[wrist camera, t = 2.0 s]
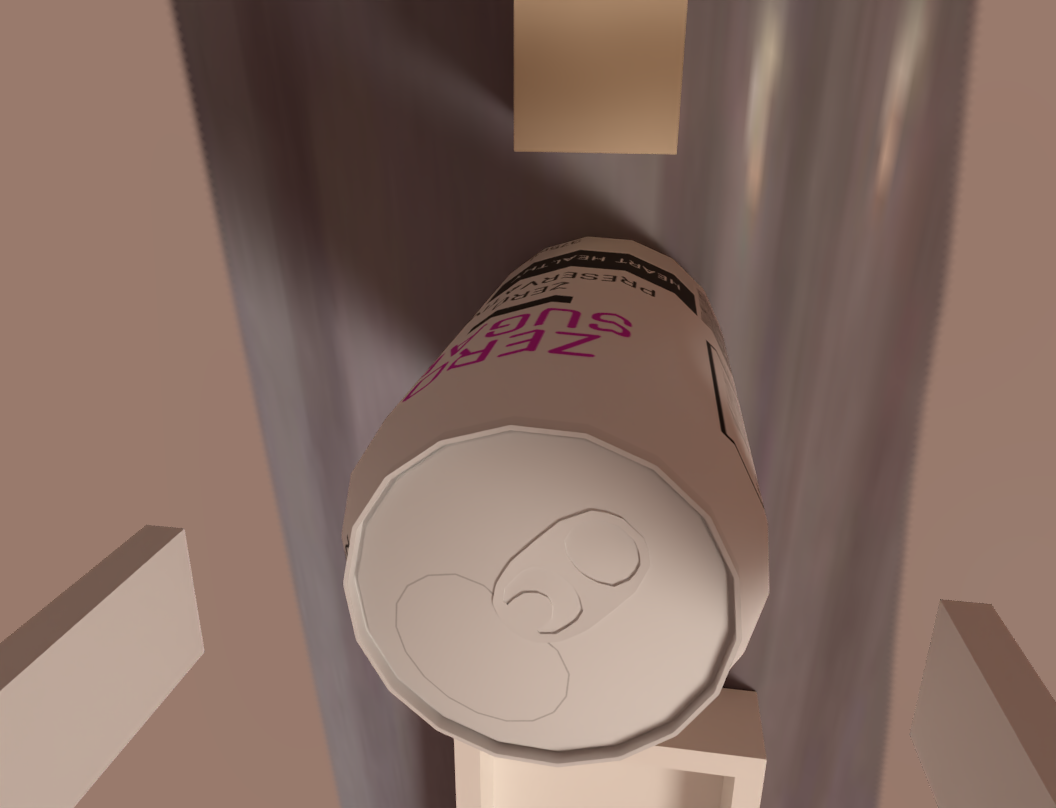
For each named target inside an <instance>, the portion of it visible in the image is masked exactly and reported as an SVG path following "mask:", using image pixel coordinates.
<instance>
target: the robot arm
mask: <svg viewBox="0 0 1056 808" xmlns="http://www.w3.org/2000/svg"><path fill="white" fill-rule="evenodd" d="M203 653H204V646H203V640H202V634H201V627H200V621H199V615H198V609H197V603H196V597H195V590H194V584H193V578H192V573H191V566H190V560H189V554H188V548H187V542H186V535H185V529H183V528H173V527H162V526H151V525H146V526H144V527H143V528H142V529H141V530H140V531H138V532H137V533H136V534H135V535H133V536H132V537H131V538H130V539H129V540H127V541H126V542H125V543H123V544H122V545H121V546H120V547H119V548H117V549H116V550H115V551H114V552H112V553H111V554H110V555H109V556H108V557H106V558H105V559H104V560H102V561H101V562H100V563H99V564H98V565H96V566H95V567H94V568H93V569H91V570H90V571H89V572H88V573H86V574H85V575H84V576H83V577H81V578H80V579H79V580H78V581H77V582H75V583H74V584H73V585H72V586H70V587H69V588H68V589H67V590H65V591H64V592H63V593H62V594H60V595H59V596H58V597H57V598H56V599H54V600H53V601H52V602H51V603H50V604H48V605H47V606H46V607H44V608H43V609H42V610H41V611H40V612H38V613H37V614H36V615H35V616H33V617H32V618H31V619H30V620H28V621H27V622H26V623H25V624H23V625H22V626H21V627H20V628H19V629H17V630H16V631H15V632H14V633H12V634H11V635H10V636H9V637H7V638H6V639H5V640H4V641H2V642H1V643H0V808H74V807H75V805H76V804H77V803H78V802H79V801H80V799H81V798H82V797H83V796H84V795H85V793H86V792H87V791H88V790H89V789H90V788H91V786H92V785H93V784H94V783H95V781H96V780H97V779H98V778H99V777H100V776H101V774H102V773H103V772H104V771H105V770H106V769H107V767H108V766H109V765H110V764H111V762H112V761H113V760H114V759H115V758H116V756H117V755H118V754H119V753H120V752H121V750H123V748H124V747H125V746H126V745H127V744H128V742H129V741H130V740H131V739H132V738H133V736H134V735H135V734H136V733H137V732H138V730H139V729H140V728H141V727H142V726H143V725H144V723H145V722H146V721H147V719H148V718H149V717H150V716H151V715H152V714H153V713H154V711H155V710H156V709H157V708H158V707H159V705H160V704H161V703H162V702H163V701H164V700H165V698H166V697H167V696H168V695H169V694H170V692H171V691H172V690H173V689H174V688H175V686H176V685H177V684H178V683H179V682H180V680H181V679H182V678H183V677H184V676H185V675H186V673H187V672H188V671H189V670H190V669H191V667H192V666H193V665H194V664H195V663H196V661H197V660H198V659H199V658H200V657H201V655H202V654H203ZM910 737H911V740H912V742H913V745H914V747H915V750H916V752H917V755H918V758H919V760H920V763H921V765H922V768H923V770H924V773H925V775H926V778H927V781H928V783H929V786H930V788H931V791H932V793H933V796H934V798H935V801H936V803H937V806H938V808H1056V702H1055V700H1054V699H1053V697H1052V696H1051V694H1050V693H1049V691H1048V690H1047V688H1046V686H1045V685H1044V684H1043V682H1042V681H1041V679H1040V678H1039V676H1038V674H1037V673H1036V671H1035V670H1034V668H1033V667H1032V665H1031V664H1030V662H1029V661H1028V659H1027V658H1026V656H1025V655H1024V653H1023V652H1022V650H1021V648H1020V647H1019V645H1018V644H1017V643H1016V641H1015V639H1014V638H1013V636H1012V635H1011V634H1010V632H1009V630H1008V629H1007V627H1006V626H1005V624H1004V623H1003V621H1002V620H1001V618H1000V617H999V615H998V614H997V612H996V611H995V609H994V607H993V606H992V604H984V603H973V602H962V601H952V600H941V599H940V603H939V607H938V612H937V616H936V620H935V625H934V629H933V634H932V638H931V642H930V647H929V651H928V656H927V660H926V665H925V669H924V673H923V678H922V682H921V687H920V691H919V696H918V700H917V705H916V709H915V713H914V718H913V722H912V726H911V731H910Z"/></svg>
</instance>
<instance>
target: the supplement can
mask: <svg viewBox="0 0 1056 808" xmlns="http://www.w3.org/2000/svg"><path fill="white" fill-rule="evenodd" d="M342 541H343V546H344V550H345V555H346V560H347V563H346V569H345V575H344V581H343V586H344V590H345V594H346V599H347V603H348V607H349V611H350V616H351V620H352V624H353V628H354V633H355V637H356V640H357V642H358V644H359V645H360V647H361V648H362V650H363V651H364V653H365V654H366V656H367V657H368V659H369V661H370V662H371V664H372V665H373V667H374V668H375V670H376V671H377V673H378V675H379V676H380V678H381V679H382V681H383V682H384V684H385V685H386V687H387V688H388V690H389V691H390V692H391V693H392V694H394V695H395V696H396V697H397V698H398V699H400V700H401V701H402V702H403V703H404V704H406V705H407V706H408V707H409V708H410V709H411V710H413V711H414V712H415V713H416V714H417V715H419V716H420V717H421V718H422V719H423V720H425V721H426V722H427V723H428V724H429V725H431V726H432V727H433V728H434V729H435V730H437V731H439V732H441V733H443V734H445V735H448V736H450V737H452V738H454V739H456V740H458V741H461V742H463V743H465V744H467V745H469V746H472V747H474V748H476V749H478V750H480V751H483V752H485V753H487V754H489V755H491V756H494V757H498V758H504V759H510V760H516V761H522V762H528V763H534V764H540V765H546V766H552V767H566V766H576V765H585V764H594V763H603V762H612V761H621V760H623V759H625V758H628V757H630V756H632V755H634V754H637V753H639V752H641V751H643V750H646V749H648V748H650V747H653V746H655V745H657V744H659V743H662V742H664V741H666V740H668V739H671V738H673V737H675V736H677V735H678V734H679V733H680V732H681V731H682V730H683V729H684V728H685V727H686V726H687V725H688V724H689V723H690V722H691V721H693V720H694V719H695V718H696V717H697V716H698V715H699V714H700V713H701V712H702V711H703V710H704V709H705V708H706V707H707V706H708V705H709V704H710V703H711V702H712V701H713V700H714V699H715V698H716V697H717V696H718V695H719V694H720V692H721V689H722V687H723V684H724V682H725V680H726V677H727V675H728V672H729V670H730V668H731V667H732V666H733V665H734V664H735V663H736V661H737V660H738V659H739V658H740V657H741V656H742V655H743V653H744V651H745V649H746V647H747V644H748V642H749V640H750V637H751V635H752V633H753V630H754V628H755V625H756V623H757V621H758V618H759V616H760V614H761V611H762V609H763V607H764V604H765V602H766V599H767V597H768V595H769V553H768V523H767V518H766V514H765V510H764V506H763V502H762V497H761V493H760V489H759V485H758V481H757V477H756V472H755V468H754V464H753V460H752V456H751V451H750V447H749V443H748V439H747V435H746V431H745V426H744V422H743V418H742V414H741V410H740V405H739V401H738V397H737V393H736V389H735V384H734V380H733V376H732V372H731V368H730V364H729V359H728V355H727V351H726V347H725V343H724V338H723V334H722V330H721V328H720V325H719V323H718V321H717V318H716V316H715V314H714V312H713V309H712V307H711V305H710V302H709V300H708V298H707V296H706V293H705V291H704V290H703V289H702V288H701V287H700V286H699V285H698V284H697V283H696V282H695V281H694V279H693V278H692V277H691V276H690V275H689V274H688V273H687V272H686V271H685V270H684V269H683V268H682V267H681V266H680V265H679V264H678V263H677V262H676V261H675V260H674V259H672V258H670V257H668V256H666V255H664V254H661V253H659V252H657V251H655V250H653V249H651V248H648V247H646V246H644V245H642V244H640V243H637V242H635V241H633V240H625V239H613V238H600V237H584V238H580V239H577V240H573V241H570V242H566V243H562V244H559V245H555V246H552V247H548V248H545V249H543V250H542V251H541V252H539V253H538V254H537V255H535V256H534V257H532V258H531V259H530V260H528V261H527V262H526V263H524V264H523V265H522V266H520V267H519V268H517V269H516V270H515V271H513V272H512V273H511V274H510V275H509V276H508V277H507V278H506V279H505V281H504V282H503V283H502V284H501V285H500V286H499V287H498V289H497V290H496V291H495V292H494V293H493V294H492V296H491V297H490V298H489V299H488V300H487V301H486V303H485V304H484V305H483V306H482V307H481V308H480V310H479V311H478V312H477V313H476V314H475V315H474V317H473V318H472V319H471V320H470V321H469V322H468V324H467V325H466V326H465V327H464V328H463V329H462V330H461V332H460V333H459V334H458V335H457V336H456V337H455V339H454V340H453V341H452V342H451V343H450V344H449V346H448V347H447V348H446V349H445V350H444V351H443V353H442V354H441V355H440V356H439V357H438V358H437V360H436V361H435V362H434V363H433V364H432V365H431V366H430V368H429V369H428V370H427V371H426V372H425V373H424V375H423V376H422V377H421V378H420V379H419V380H418V382H417V383H416V384H415V385H414V386H413V387H412V389H411V390H410V391H409V392H408V393H407V394H406V396H405V397H404V398H403V399H402V400H401V401H400V403H399V404H398V405H397V406H396V407H395V408H394V409H393V411H392V412H391V413H390V414H389V415H388V416H387V418H386V419H385V421H384V422H383V424H382V426H381V427H380V429H379V430H378V432H377V433H376V435H375V437H374V438H373V440H372V441H371V443H370V445H369V446H368V448H367V449H366V451H365V453H364V454H363V456H362V457H361V459H360V460H359V462H358V464H357V465H356V467H355V468H354V470H353V472H352V473H351V478H350V485H349V491H348V498H347V504H346V510H345V517H344V523H343V529H342Z"/></svg>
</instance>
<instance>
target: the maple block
mask: <svg viewBox="0 0 1056 808" xmlns="http://www.w3.org/2000/svg"><path fill="white" fill-rule="evenodd" d="M687 2H688V0H514V151H523V152H577V153H632V154H677V141H678V127H679V113H680V99H681V85H682V71H683V57H684V43H685V30H686V16H687Z"/></svg>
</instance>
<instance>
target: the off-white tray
mask: <svg viewBox="0 0 1056 808" xmlns="http://www.w3.org/2000/svg"><path fill="white" fill-rule="evenodd" d="M454 754H455V782H456V808H759V807H760V801H761V794H762V788H763V781H764V775H765V768H766V761H767V758H766V751H765V745H764V738H763V732H762V725H761V719H760V712H759V706H758V699H757V693H756V692H754V691H745V690H736V689H728V688H722V689H721V692H720V694H719V695H718V696H717V697H716V698H715V699H714V700H713V701H712V702H711V703H710V704H709V705H708V706H707V707H706V708H705V709H704V710H703V711H702V712H701V713H700V714H699V715H698V716H697V717H696V718H695V719H694V720H693V721H691V722H690V723H689V724H688V725H687V726H686V727H685V728H684V729H683V730H682V731H681V732H680V733H679V734H678V735H677V736H675V737H673V738H671V739H668V740H666V741H664V742H662V743H659V744H657V745H655V746H653V747H650V748H648V749H646V750H643V751H641V752H639V753H637V754H634V755H632V756H630V757H628V758H625V759H623V760H621V761H612V762H603V763H594V764H585V765H576V766H566V767H552V766H546V765H540V764H534V763H528V762H522V761H516V760H510V759H504V758H498V757H494V756H491V755H489V754H487V753H485V752H483V751H480V750H478V749H476V748H474V747H472V746H469V745H467V744H465V743H463V742H461V741H458V740H456V739H454Z"/></svg>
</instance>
